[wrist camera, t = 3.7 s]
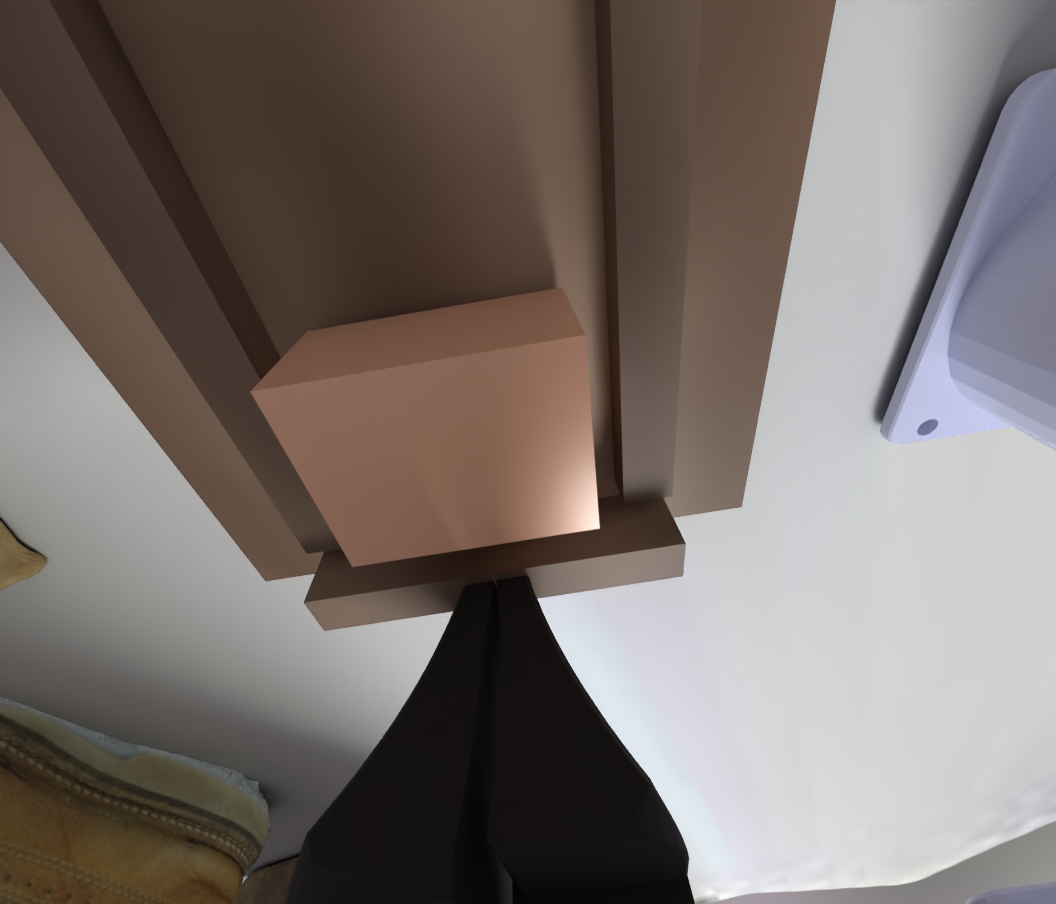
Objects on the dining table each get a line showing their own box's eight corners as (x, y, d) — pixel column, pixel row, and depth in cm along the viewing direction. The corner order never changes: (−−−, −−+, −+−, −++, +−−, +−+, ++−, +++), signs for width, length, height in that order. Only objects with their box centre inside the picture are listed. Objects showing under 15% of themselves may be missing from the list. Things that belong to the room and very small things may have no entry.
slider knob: (562, 287, 8) (585, 335, 6) (579, 454, 11) (599, 528, 9) (307, 331, 9) (249, 391, 7) (378, 486, 11) (352, 567, 9)
